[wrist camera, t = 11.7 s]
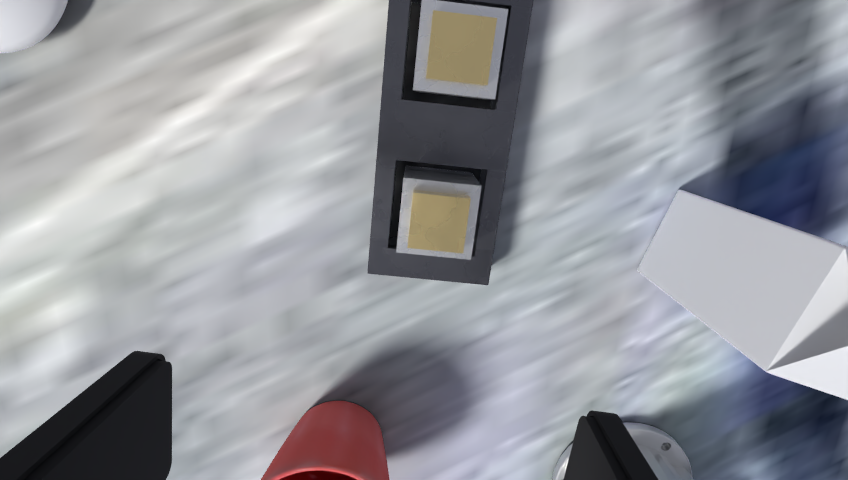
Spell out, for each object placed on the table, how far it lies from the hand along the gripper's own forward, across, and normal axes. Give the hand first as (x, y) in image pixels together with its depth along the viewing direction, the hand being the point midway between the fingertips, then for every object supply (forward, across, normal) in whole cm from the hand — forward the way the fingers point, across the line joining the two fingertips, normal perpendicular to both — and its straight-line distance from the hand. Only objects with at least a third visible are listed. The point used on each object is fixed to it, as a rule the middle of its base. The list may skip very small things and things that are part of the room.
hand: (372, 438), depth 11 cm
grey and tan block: (+26, -1, -11) cm, 29 cm away
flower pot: (+27, +4, +22) cm, 35 cm away
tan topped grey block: (+27, -2, -1) cm, 27 cm away
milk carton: (+28, -23, 0) cm, 36 cm away
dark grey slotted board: (+27, -2, -6) cm, 27 cm away
